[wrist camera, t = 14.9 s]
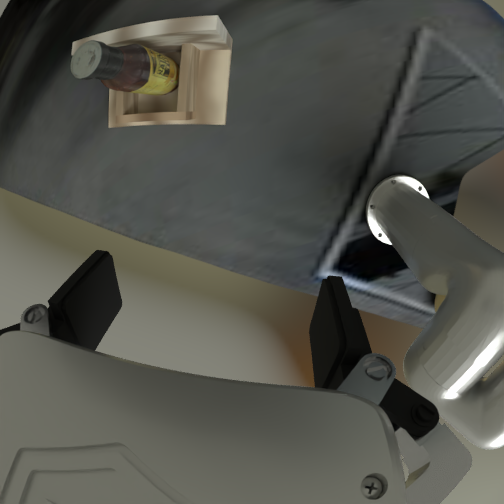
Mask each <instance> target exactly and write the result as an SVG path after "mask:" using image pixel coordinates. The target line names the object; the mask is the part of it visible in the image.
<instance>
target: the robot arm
mask: <svg viewBox="0 0 504 504" xmlns="http://www.w3.org/2000/svg"><path fill="white" fill-rule="evenodd" d="M391 181H392V182H391ZM418 187H419V188H418ZM371 205H372V206H371ZM366 220H367V224H368V226H369V228H370V230H371V232H372V233H373V235H374V236H375V237H376V238H377V239H379V240H380V241H382V242H384V243H387V244H391V245H393V246H394V248H395V249H396V250H397V252H398V253H399V254H400V256H401V257H402V258H403V260H404V261H405V263H406V264H407V265H408V267H409V268H410V270H411V271H412V272H413V274H414V275H415V277H416V278H417V279H418V281H419V282H420V284H421V285H422V286H423V287H424V288H425V289H427V290H428V291H430V292H432V293H435V294H439V295H446V297H445V299H444V300H443V302H442V303H441V305H440V306H439V308H438V310H437V311H436V313H435V314H434V316H433V317H432V318H431V320H430V321H429V323H428V324H427V325H426V327H425V328H424V329H423V330H422V332H421V333H420V334H419V336H418V337H417V338H416V340H415V341H414V342H413V344H412V345H411V346H410V348H409V349H408V351H407V353H406V355H405V358H404V363H403V369H404V374H405V377H406V380H407V382H408V384H409V385H410V387H411V388H412V389H411V388H409V387H408V386H406V385H404V384H403V383H401V382H400V381H398V380H397V379H395V375H396V368H395V366H394V364H393V362H392V361H391V360H390V359H389V358H387V357H386V356H383V355H381V354H377V353H372V351H371V348H370V344H369V341H368V338H367V335H366V332H365V329H364V326H363V323H362V319H361V317H360V314H359V311H358V309H356V308H352V305H351V302H350V299H349V296H348V293H347V290H346V287H345V284H344V281H343V279H342V277H339V276H328V277H327V279H323V280H322V284H321V288H320V292H319V295H318V299H317V303H316V306H315V310H314V313H313V318H312V320H311V324H310V330H309V334H310V343H311V351H312V361H313V371H314V382H315V387H304V386H303V387H302V386H290V385H277V384H266V383H255V382H247V381H238V380H230V379H223V378H216V377H209V376H203V375H197V374H191V373H185V372H179V371H175V370H170V369H165V368H160V367H155V366H151V365H147V364H142V363H138V362H134V361H130V360H126V359H122V358H118V357H115V356H111V355H107V354H104V353H101V352H97V351H95V350H96V348H97V346H98V345H99V343H100V341H101V339H102V338H103V336H104V334H105V333H106V331H107V330H108V328H109V326H110V325H111V323H112V321H113V320H114V318H115V317H116V315H117V314H118V312H119V310H120V309H121V307H122V299H121V295H120V291H119V286H118V282H117V278H116V272H115V268H114V262H113V258H112V256H111V255H110V254H109V252H107V251H102V250H96V251H95V252H94V253H93V254H92V255H91V256H90V257H89V258H88V259H87V260H86V261H85V262H84V263H83V264H82V265H81V266H80V267H79V268H78V269H77V270H76V271H75V272H74V273H73V274H72V275H71V276H70V277H69V278H68V279H67V281H66V282H65V283H64V284H63V285H62V286H61V287H60V288H59V289H58V290H57V291H56V292H55V294H54V295H53V296H52V297H51V298H50V299H49V300H48V303H49V308H48V309H47V307H46V306H45V305H43V304H35V305H32V306H30V307H29V308H27V309H26V310H25V311H24V312H23V314H22V316H21V323H18V324H16V325H13V326H10V327H7V328H4V329H2V330H0V504H440V503H441V502H442V501H443V500H444V499H445V498H446V497H447V496H448V494H449V493H450V492H451V491H452V490H453V489H454V488H455V487H456V485H457V484H458V483H459V482H460V481H461V479H462V478H463V477H464V476H465V475H466V473H467V472H468V471H469V469H470V467H471V465H472V457H471V454H470V452H469V451H468V450H467V449H466V447H465V446H464V445H463V444H462V443H461V442H460V441H459V439H458V438H457V437H456V436H455V435H454V433H453V432H452V431H451V430H450V429H449V428H448V427H447V426H446V425H445V423H444V424H443V425H441V424H440V423H439V416H441V417H442V418H443V419H444V420H445V421H446V422H448V423H449V424H450V425H451V426H452V427H454V428H455V429H456V430H457V431H458V432H459V433H460V434H462V435H463V436H464V437H465V438H466V439H467V440H469V441H470V442H471V443H473V444H474V445H476V446H478V447H480V448H483V449H496V448H500V447H502V446H504V360H503V361H502V362H501V364H500V365H499V366H498V367H497V368H496V369H495V370H494V371H493V372H492V373H491V374H490V375H489V376H488V377H483V376H484V375H485V374H486V372H487V371H488V370H489V369H490V368H491V367H492V366H493V365H494V364H495V363H496V362H497V361H498V360H499V359H500V358H501V357H502V355H503V354H504V253H503V252H501V251H500V250H498V249H496V248H495V247H493V246H492V245H490V244H489V243H487V242H486V241H484V240H482V239H481V238H480V237H479V236H477V235H476V234H475V233H473V232H472V231H471V230H470V229H468V228H467V227H466V226H465V225H463V224H462V223H460V222H459V221H458V220H457V219H455V218H454V217H453V216H452V215H450V214H449V213H448V212H446V211H445V210H444V209H442V208H441V207H440V206H438V205H437V204H435V203H434V202H433V201H431V200H430V199H429V196H428V193H427V191H426V189H425V188H424V186H423V185H422V184H421V183H420V182H419V181H417V180H416V179H414V178H412V177H410V176H407V175H393V176H390V177H388V178H385V179H384V180H383V181H381V182H380V183H379V184H378V185H377V186H376V187H375V188H374V189H373V191H372V192H371V194H370V196H369V198H368V201H367V205H366ZM400 453H401V454H400ZM401 455H402V456H403V457H404V459H402V460H403V461H404V463H405V464H406V465H407V467H408V469H409V476H408V479H407V481H406V482H405V478H404V472H403V466H402V460H401Z"/></svg>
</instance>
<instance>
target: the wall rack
mask: <svg viewBox="0 0 504 504" xmlns="http://www.w3.org/2000/svg"><path fill="white" fill-rule="evenodd" d="M91 40H95V41H100V42H103V43H105V44H106V45H108V46H111V47H120V46H126V45H131V44H139V45H142V46H144V47H147V48H149V49H151V50H153V51H156V52H158V53H160V54H162V55H165V56H167V57H169V58H171V59H173V60H174V61H175V62H176V63H177V64H179V66H180V74H179V86H178V88H177V89H176V90H174V91H173V92H171V93H169V94H166V95H158V96H155V95H148V94H139V93H129V92H123V91H116V90H112V89H110V90H109V128H112V127H123V126H138V125H159V124H215V125H226V115H227V101H228V88H229V76H230V64H231V53H232V43H233V40H232V38H231V36H230V34H229V33H228V31H227V29H226V28H225V26H224V25H223V23H222V21H221V20H220V18H219V16H218V15H214V16H196V17H185V18H175V19H167V20H160V21H154V22H148V23H143V24H137V25H133V26H128V27H124V28H119V29H115V30H111V31H108V32H104V33H100V34H97V35H94V36H90V37H87V38H84V39H81V40H78V41H75V42H73V46H72V54H71V55H74V53H75V51H76V50H77V49H78V47H80V46H81V45H82V44H83V43H85V42H87V41H91Z"/></svg>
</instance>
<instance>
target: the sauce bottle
mask: <svg viewBox="0 0 504 504" xmlns="http://www.w3.org/2000/svg"><path fill="white" fill-rule="evenodd" d="M71 72H72V74H73V75H74V76H75V77H76V78H78V79H86V80H89V79H93V78H96V79H100V80H101V82H102V83H103V84H104V85H105V86H106V87H108V88H110V89H112V90H116V91H123V92H129V93H139V94H148V95H155V96H158V95H166V94H169V93H171V92H173V91H174V90H176V89H177V88H178V86H179V74H180V66H179V64H177V63H176V62H175V61H174V60H173V59H171V58H169V57H167V56H165V55H162V54H160V53H158V52H156V51H153V50H151V49H149V48H147V47H144V46H142V45H139V44H131V45H126V46H120V47H111V46H108V45H106V44H105V43H103V42H100V41H95V40H91V41H87V42H85V43H83V44H82V45H81V46H80V47H78V49H77V50H76V51H75V53H74V55H73V57H72V61H71Z"/></svg>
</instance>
